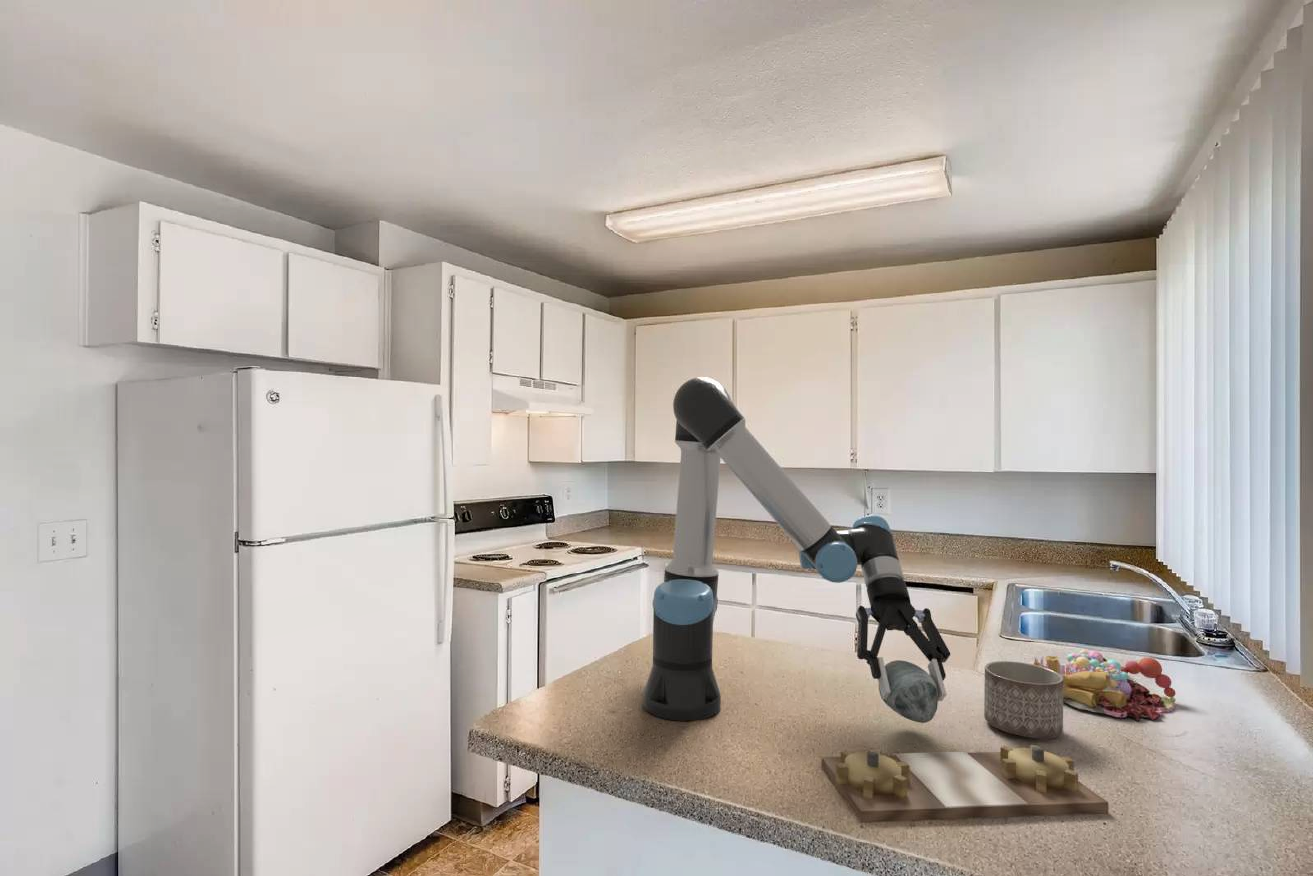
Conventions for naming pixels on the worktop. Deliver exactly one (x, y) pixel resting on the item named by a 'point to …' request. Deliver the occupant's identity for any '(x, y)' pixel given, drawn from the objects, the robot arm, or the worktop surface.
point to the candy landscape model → (1112, 685)
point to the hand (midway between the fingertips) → (914, 696)
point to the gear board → (960, 785)
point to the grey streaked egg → (911, 691)
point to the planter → (1023, 699)
